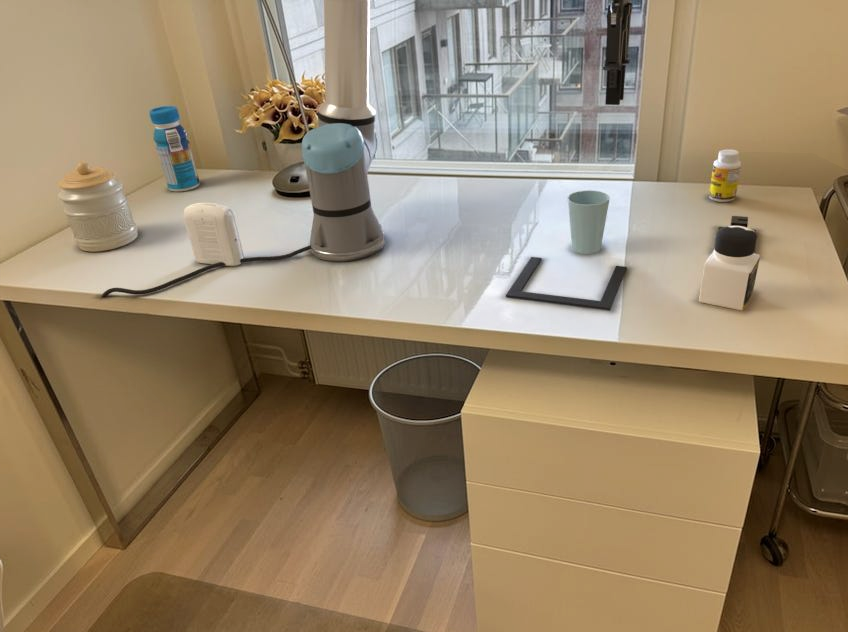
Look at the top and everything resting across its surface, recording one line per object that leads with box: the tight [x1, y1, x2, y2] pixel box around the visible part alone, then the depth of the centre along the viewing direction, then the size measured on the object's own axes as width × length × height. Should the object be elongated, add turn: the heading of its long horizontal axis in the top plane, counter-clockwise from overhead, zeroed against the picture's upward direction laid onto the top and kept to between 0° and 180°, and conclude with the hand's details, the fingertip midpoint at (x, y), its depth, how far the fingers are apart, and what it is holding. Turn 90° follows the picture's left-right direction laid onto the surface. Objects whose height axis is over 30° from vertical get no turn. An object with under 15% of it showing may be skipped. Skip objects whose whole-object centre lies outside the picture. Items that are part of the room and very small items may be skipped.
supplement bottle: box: [708, 148, 742, 203], centre depth 150 cm, size 6×6×10 cm
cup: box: [567, 190, 611, 255], centre depth 133 cm, size 8×8×10 cm
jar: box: [57, 161, 139, 252], centre depth 151 cm, size 13×13×18 cm
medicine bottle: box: [698, 225, 761, 311], centre depth 113 cm, size 7×7×12 cm
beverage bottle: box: [148, 105, 201, 193], centre depth 179 cm, size 8×8×20 cm
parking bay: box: [505, 256, 628, 311], centre depth 124 cm, size 16×18×1 cm
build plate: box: [717, 215, 757, 254], centre depth 133 cm, size 12×7×5 cm, turn 159°
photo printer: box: [183, 202, 245, 267], centre depth 139 cm, size 10×4×12 cm, turn 72°
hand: (614, 101), depth 140 cm, fingers open, 3 cm apart
